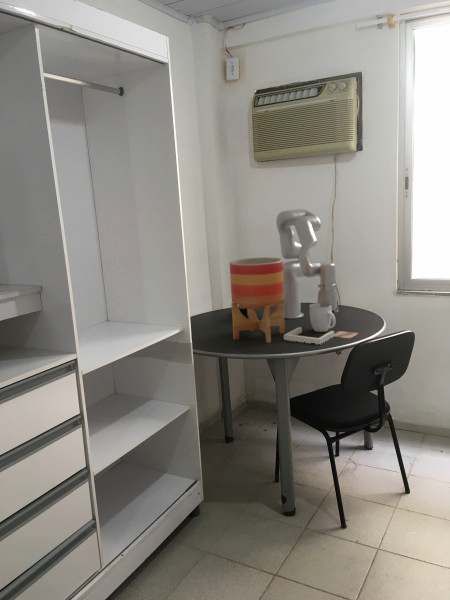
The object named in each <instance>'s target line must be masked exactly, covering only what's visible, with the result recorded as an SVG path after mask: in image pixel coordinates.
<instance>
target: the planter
mask: <svg viewBox="0 0 450 600" xmlns="http://www.w3.org/2000/svg"><path fill="white" fill-rule="evenodd" d="M283 264H284V259H282V258H279V257H267V256H265V257H249V258H239V259H235V260H231V261H230V262H229V275H230V276H229V277H230V296H231V314H232V315H231V316H232V335H233V338H232V339H233V340H236V341H237V340H240V331H247V330H249V331H250V332H253V331H254V330H256V329H259V330H260V331H261V332H263V333H265V342H266V343H268V344H269V343H272V335H271V334H272V333H271V331H272V330H271V327H277V326H278V332H279V333H280V334H286V324H285V322H286V321H285V318H284V279H283ZM239 307H242V308H247V309H248V315H249V317H248V319H247V318H246V317H244V316H243V315H242V313H241V312H240V310H239ZM273 307H275V308H274V309H273V311H272V312H270V311H271V309H270V308H273ZM259 309H263V314H262V315H263V316H262V318H261V320H260V319H259V318H258V316H257V313H256V311H255V310H259Z"/></svg>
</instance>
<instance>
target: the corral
mask: <svg viewBox="0 0 450 600" xmlns="http://www.w3.org/2000/svg"><path fill="white" fill-rule="evenodd" d="M302 333H303V327H299V326H298V327H296V328H294V329H293V330H291V331H289V332H285V333H283V340H284V341H291V342H296V341H297V343H298V342H299V343H304V342H305V344H311V343H315V344H314V345H319V344H320V345H322V344H324V343H326V342H328V341H329V340H331V339H332V338H335V337H334V334H335V331H334V330H330V331H328V332H326V333H325V334H323V335H321V336H320V337H312V336H305V335H300V334H302ZM330 338H331V339H330ZM325 341H326V342H325ZM323 342H324V343H323ZM321 343H322V344H321Z"/></svg>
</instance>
